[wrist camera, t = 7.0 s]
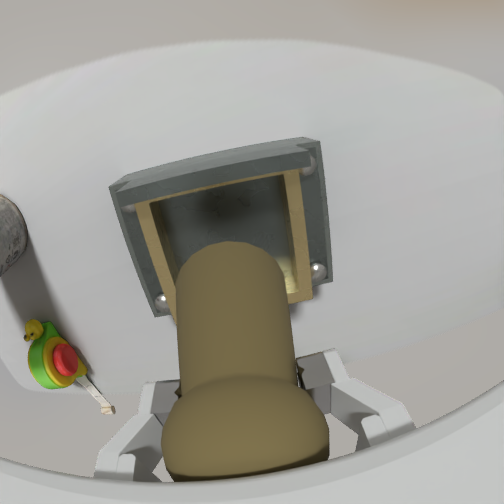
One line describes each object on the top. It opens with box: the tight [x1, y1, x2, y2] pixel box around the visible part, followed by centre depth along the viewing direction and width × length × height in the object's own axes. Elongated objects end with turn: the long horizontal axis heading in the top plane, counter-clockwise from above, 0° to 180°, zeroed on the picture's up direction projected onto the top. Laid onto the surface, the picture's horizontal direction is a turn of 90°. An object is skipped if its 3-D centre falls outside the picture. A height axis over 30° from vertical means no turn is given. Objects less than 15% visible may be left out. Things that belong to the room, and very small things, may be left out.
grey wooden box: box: [109, 137, 333, 326], centre depth 24 cm, size 16×12×9 cm
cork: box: [161, 241, 329, 482], centre depth 11 cm, size 6×6×11 cm
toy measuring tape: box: [24, 319, 115, 415], centre depth 31 cm, size 6×20×7 cm, turn 15°
